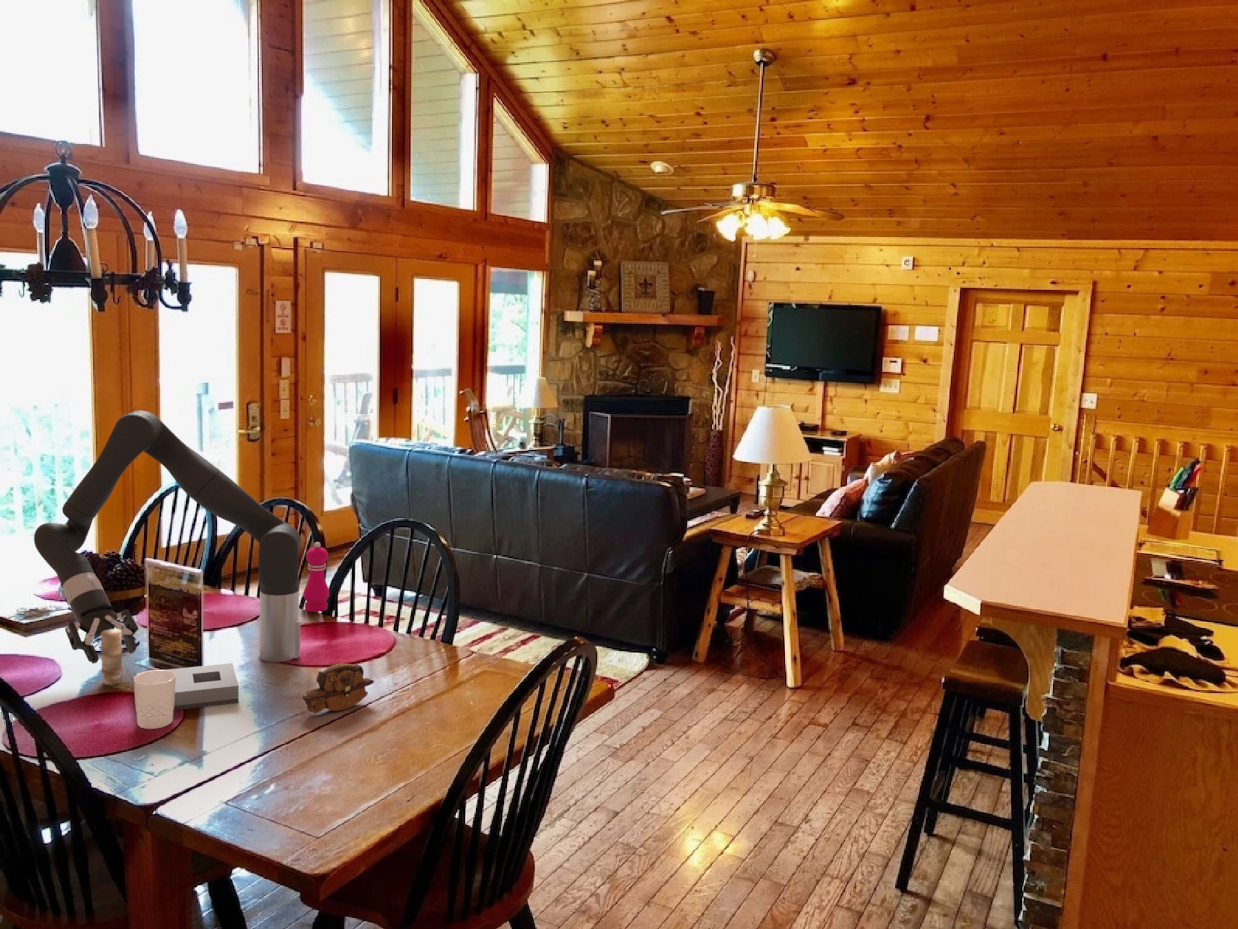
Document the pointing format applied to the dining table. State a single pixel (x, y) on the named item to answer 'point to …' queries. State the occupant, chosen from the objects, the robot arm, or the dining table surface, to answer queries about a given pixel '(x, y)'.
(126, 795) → the dining table surface
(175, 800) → the dining table surface
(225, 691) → the socket board
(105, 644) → the birch peg
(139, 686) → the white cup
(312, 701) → the wooden carving
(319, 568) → the pepper mill
